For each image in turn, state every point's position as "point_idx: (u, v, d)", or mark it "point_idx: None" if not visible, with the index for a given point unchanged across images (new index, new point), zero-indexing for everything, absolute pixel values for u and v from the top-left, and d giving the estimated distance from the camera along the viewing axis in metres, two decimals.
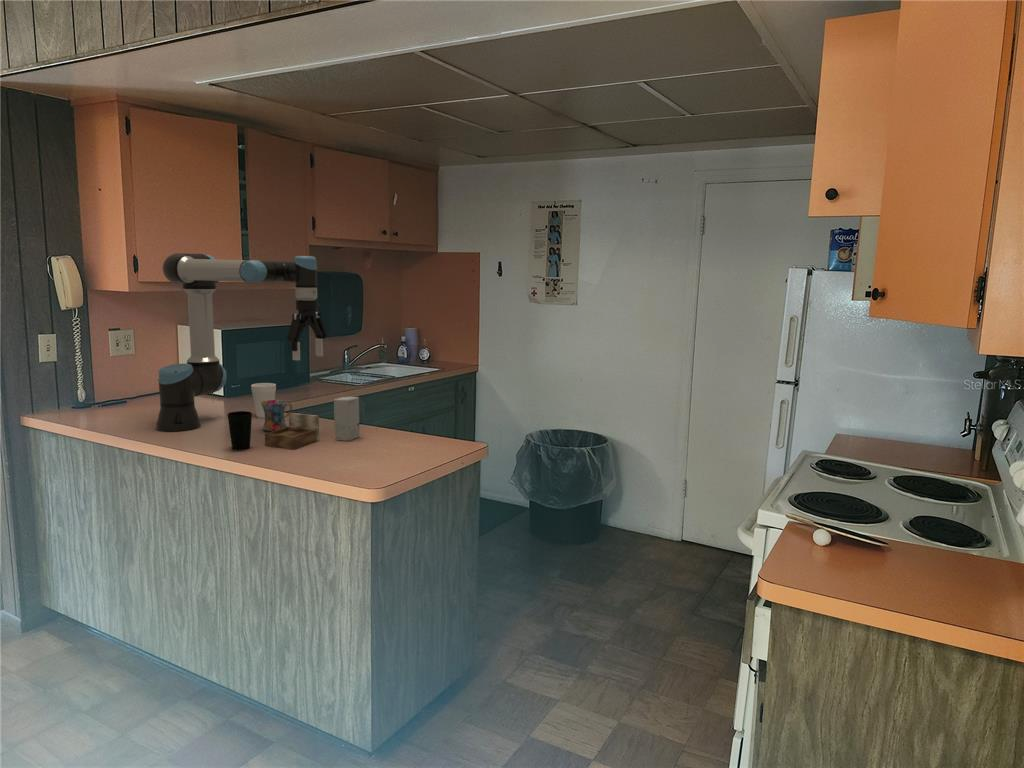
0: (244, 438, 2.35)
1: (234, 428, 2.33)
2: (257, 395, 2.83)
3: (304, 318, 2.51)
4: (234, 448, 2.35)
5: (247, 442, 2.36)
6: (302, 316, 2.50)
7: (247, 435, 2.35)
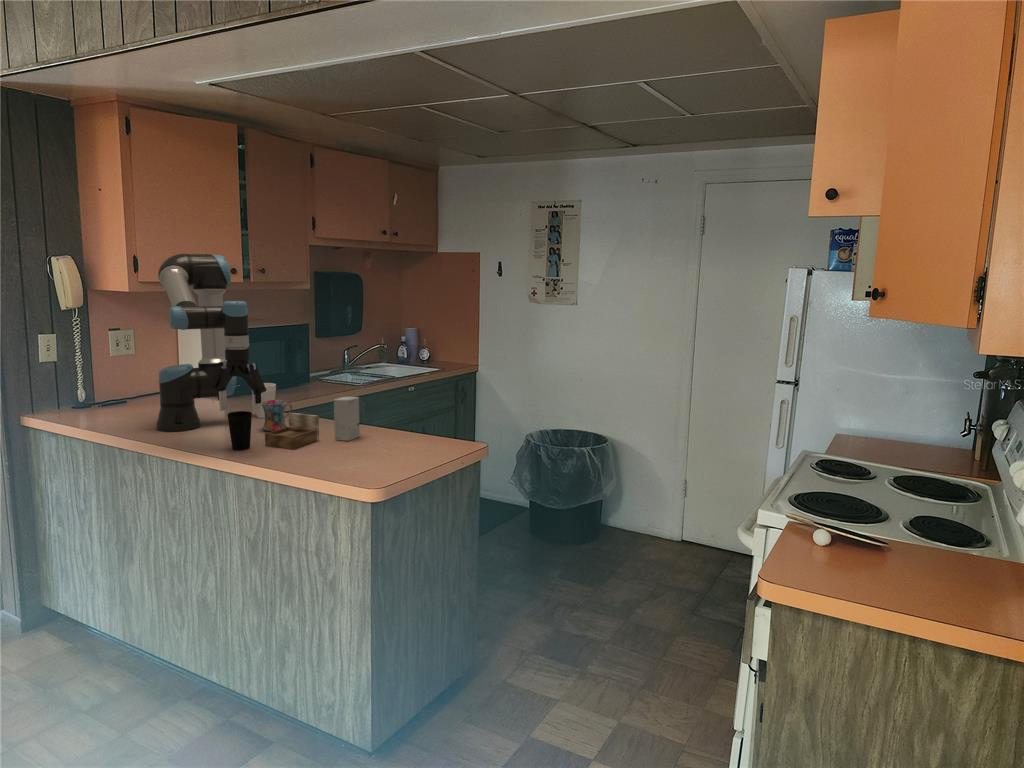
0: (244, 438, 2.35)
1: (234, 428, 2.33)
2: None
3: (228, 367, 2.33)
4: (234, 448, 2.35)
5: (247, 442, 2.36)
6: (226, 365, 2.33)
7: (247, 435, 2.35)
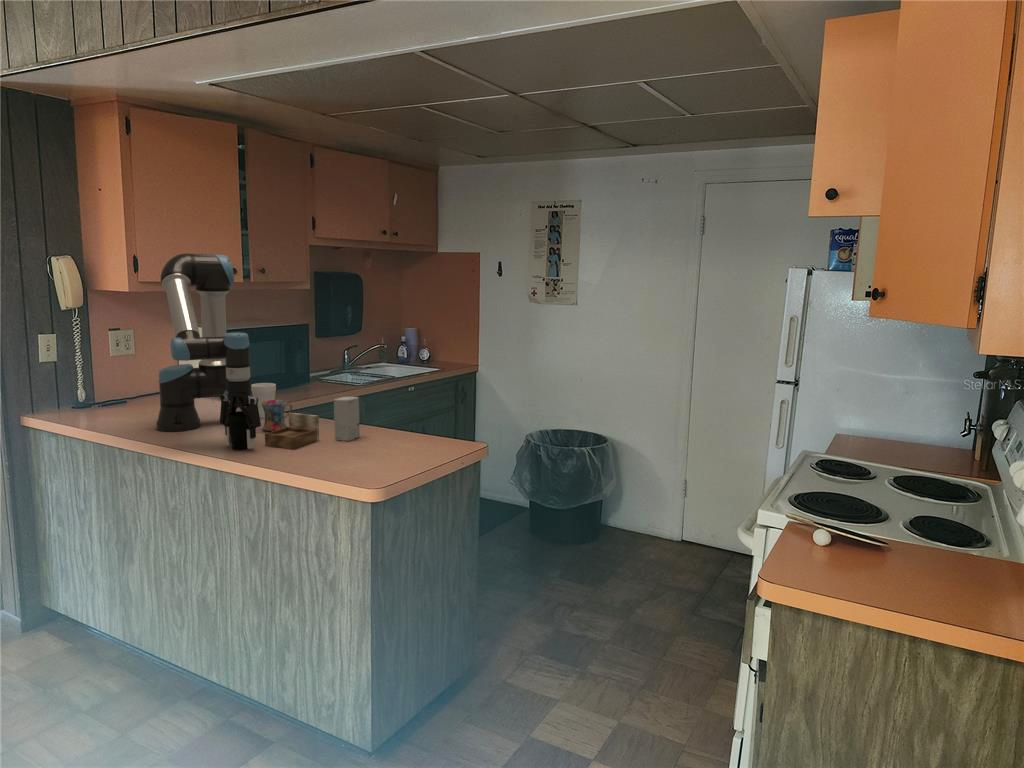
0: (244, 438, 2.35)
1: (234, 428, 2.33)
2: (257, 395, 2.83)
3: (229, 398, 2.35)
4: (234, 448, 2.35)
5: None
6: (227, 397, 2.35)
7: None
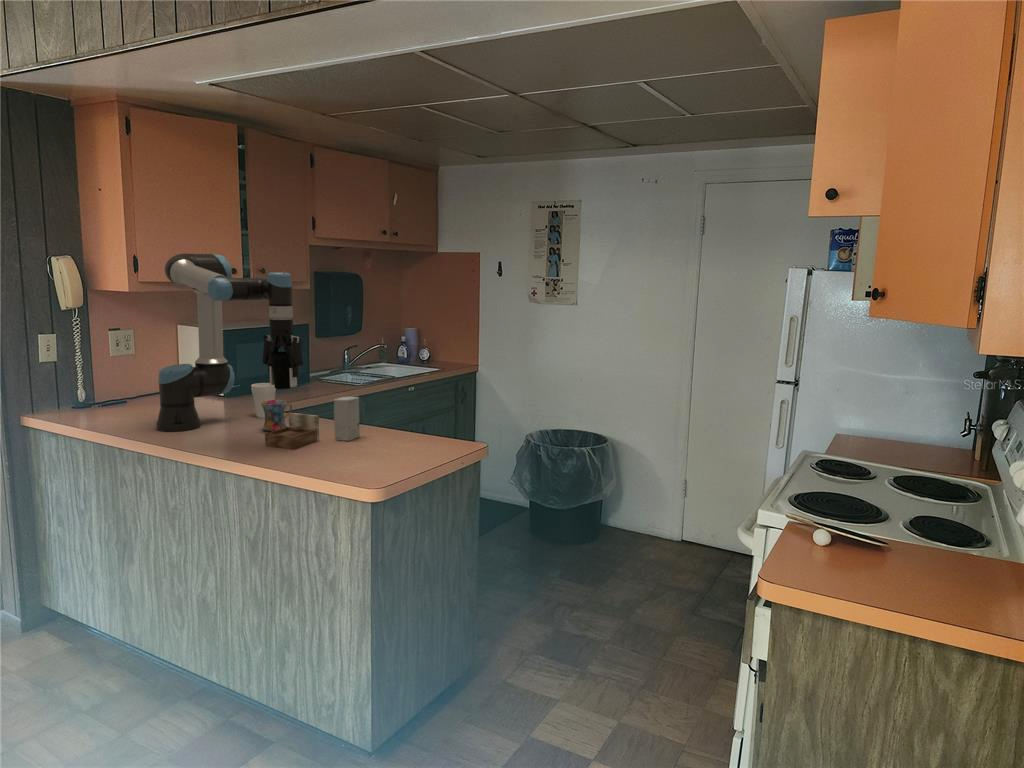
0: (286, 377, 2.37)
1: (277, 366, 2.36)
2: (257, 395, 2.83)
3: (272, 338, 2.38)
4: (277, 387, 2.38)
5: (289, 381, 2.39)
6: (270, 336, 2.38)
7: (289, 374, 2.38)
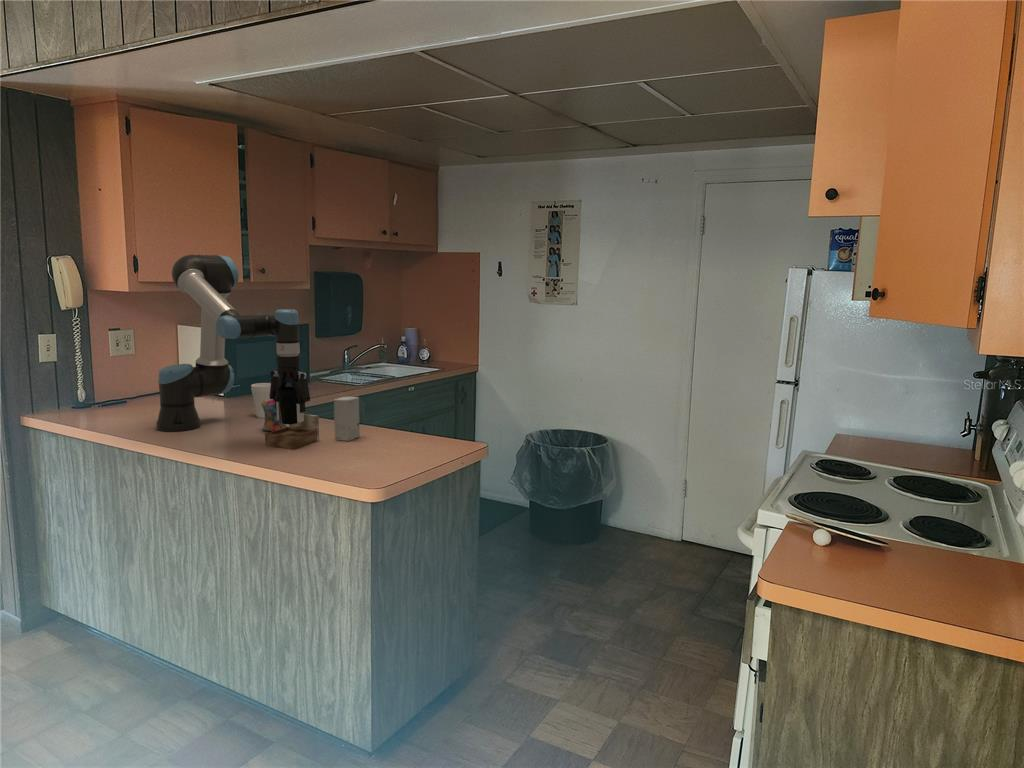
0: (294, 412, 2.41)
1: (284, 402, 2.39)
2: (257, 395, 2.83)
3: (279, 374, 2.41)
4: (284, 422, 2.41)
5: (296, 416, 2.42)
6: (277, 372, 2.41)
7: None
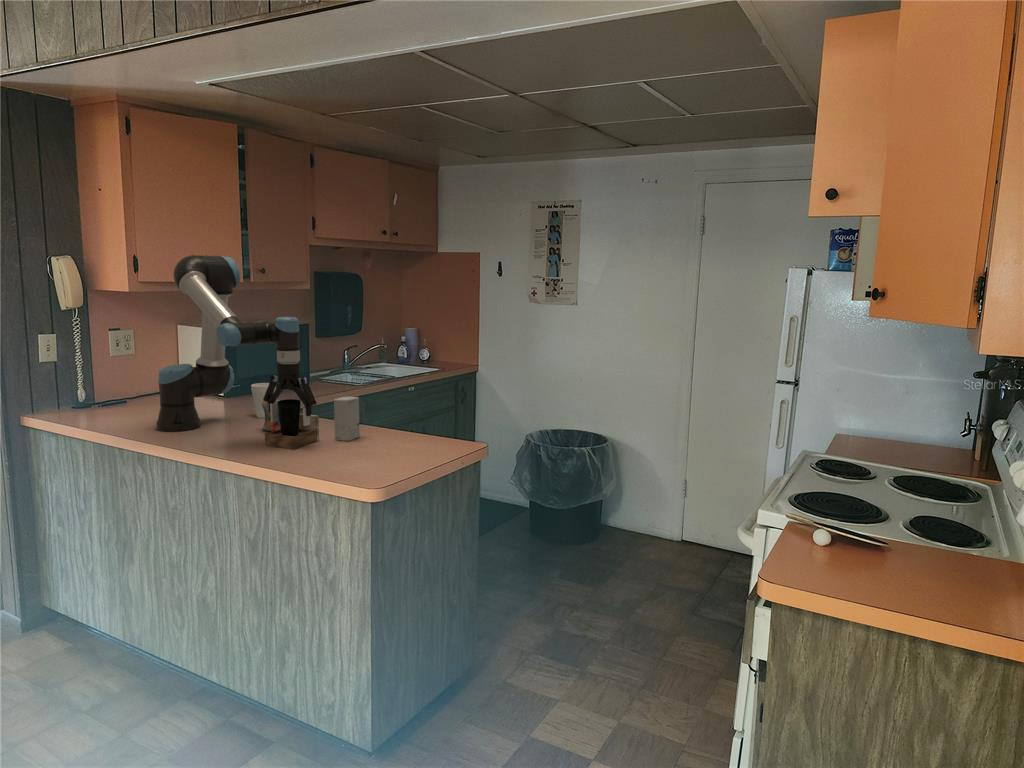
0: (294, 425, 2.42)
1: (284, 415, 2.40)
2: (257, 395, 2.83)
3: (279, 381, 2.41)
4: (284, 435, 2.42)
5: (296, 429, 2.43)
6: (277, 379, 2.42)
7: (296, 422, 2.42)
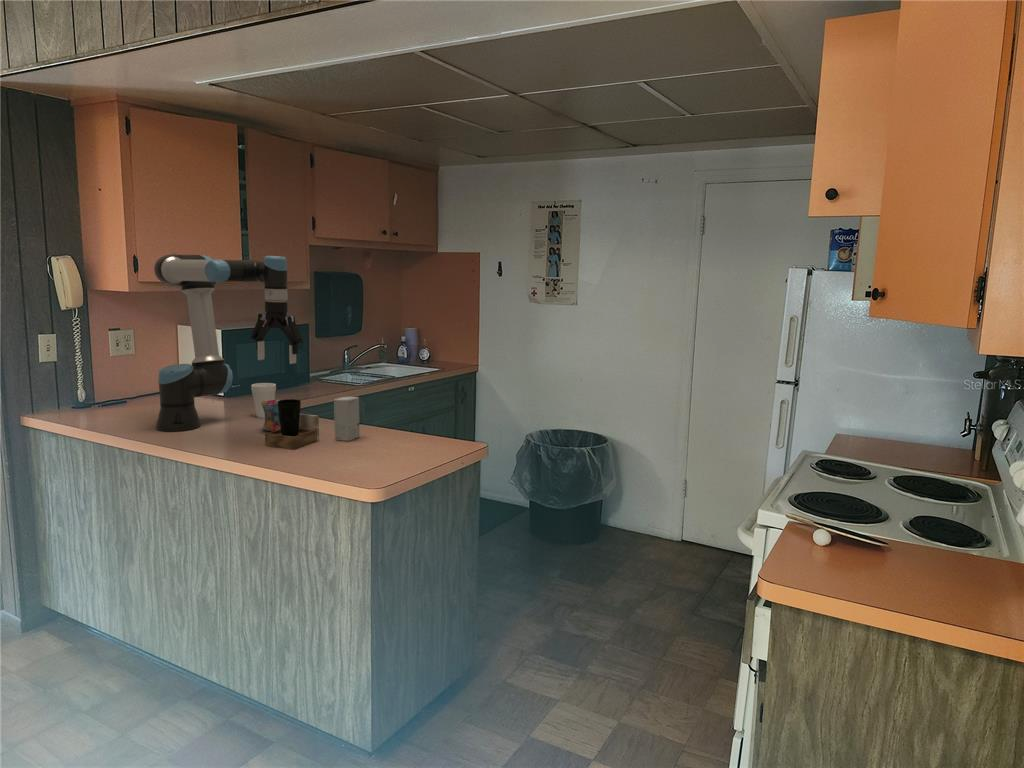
0: (294, 425, 2.42)
1: (284, 415, 2.40)
2: (257, 395, 2.83)
3: (267, 319, 2.46)
4: (284, 435, 2.42)
5: (296, 429, 2.43)
6: (265, 317, 2.46)
7: (296, 422, 2.42)
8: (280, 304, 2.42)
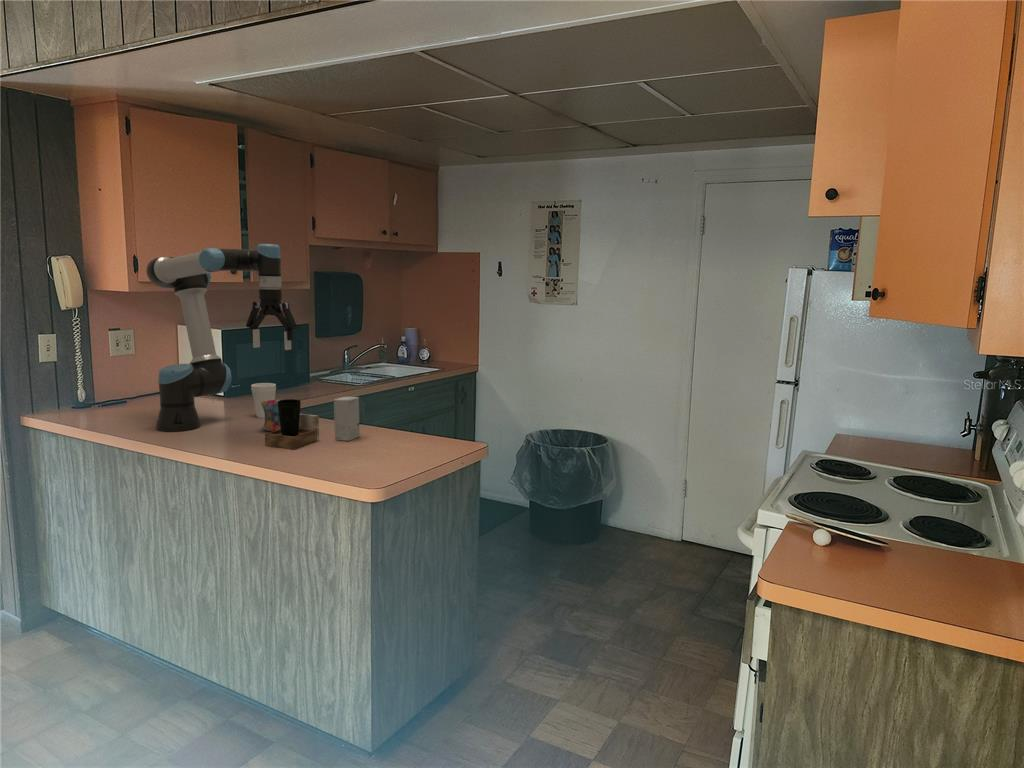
0: (294, 425, 2.42)
1: (284, 415, 2.40)
2: (257, 395, 2.83)
3: (261, 307, 2.49)
4: (284, 435, 2.42)
5: (296, 429, 2.43)
6: (260, 304, 2.50)
7: (296, 422, 2.42)
8: (274, 291, 2.46)
